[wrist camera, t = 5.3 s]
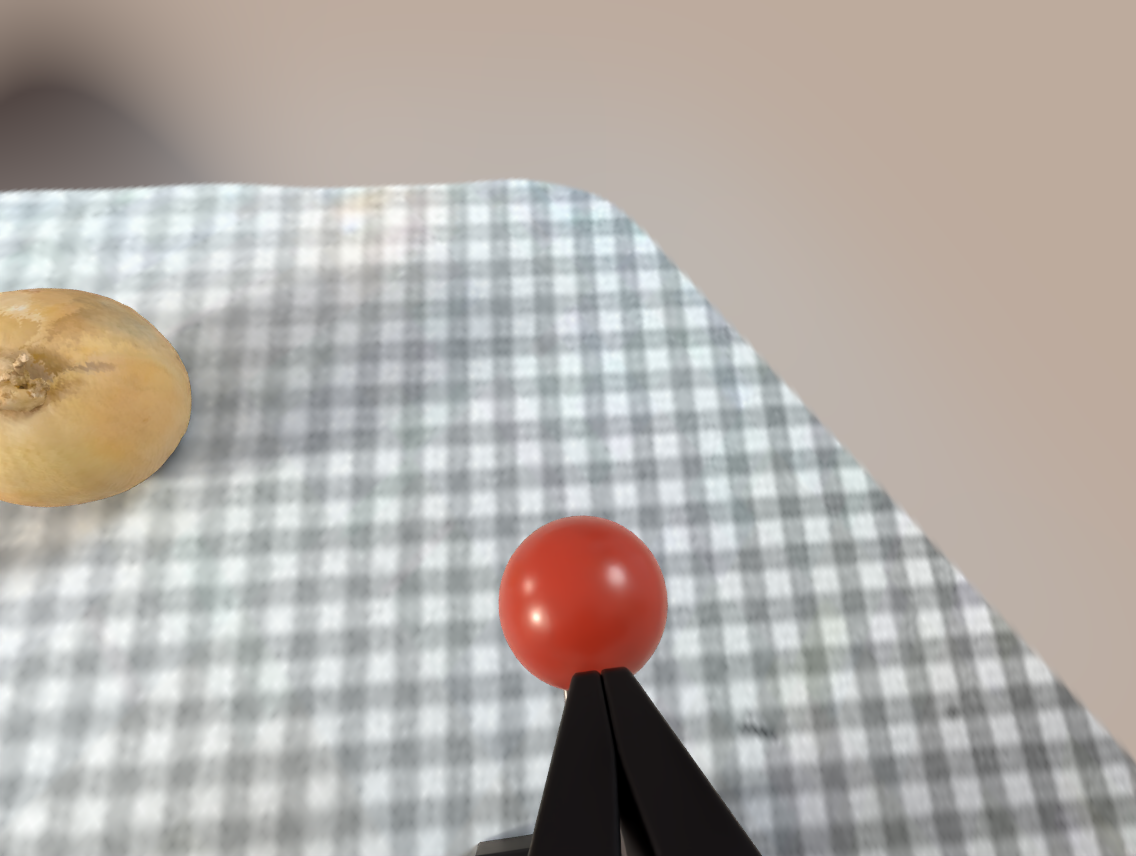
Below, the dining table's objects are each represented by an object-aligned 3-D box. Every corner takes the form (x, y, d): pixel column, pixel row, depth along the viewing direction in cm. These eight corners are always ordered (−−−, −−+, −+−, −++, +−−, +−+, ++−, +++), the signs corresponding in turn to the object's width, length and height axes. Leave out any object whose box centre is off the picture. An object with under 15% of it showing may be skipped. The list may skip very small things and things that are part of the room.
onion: (5, 529, 22) (-236, 500, 15) (31, 343, 24) (-169, 246, 18) (216, 504, 23) (74, 465, 16) (224, 324, 25) (101, 222, 18)
